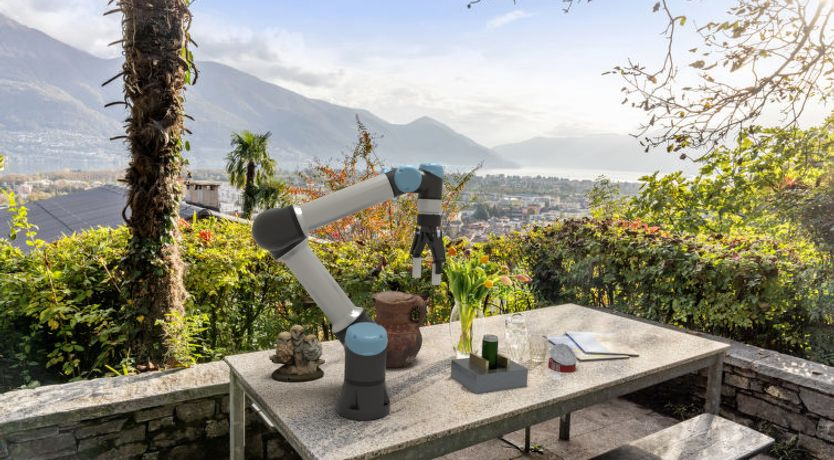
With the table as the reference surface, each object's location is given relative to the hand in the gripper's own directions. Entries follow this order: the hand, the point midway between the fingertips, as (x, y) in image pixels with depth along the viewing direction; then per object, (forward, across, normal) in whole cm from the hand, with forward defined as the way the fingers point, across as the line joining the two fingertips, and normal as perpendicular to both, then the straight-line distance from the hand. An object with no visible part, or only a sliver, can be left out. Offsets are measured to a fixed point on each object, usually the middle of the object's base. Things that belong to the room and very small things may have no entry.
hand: (425, 281), depth 155 cm
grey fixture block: (+35, 0, -26) cm, 44 cm away
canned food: (+35, +2, -60) cm, 70 cm away
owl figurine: (+35, +24, +34) cm, 54 cm away
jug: (+35, +28, -2) cm, 45 cm away
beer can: (+31, -1, -25) cm, 40 cm away
